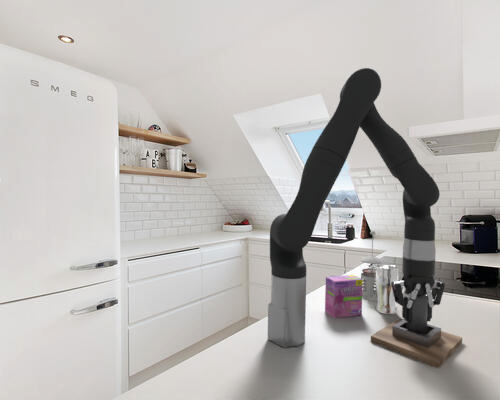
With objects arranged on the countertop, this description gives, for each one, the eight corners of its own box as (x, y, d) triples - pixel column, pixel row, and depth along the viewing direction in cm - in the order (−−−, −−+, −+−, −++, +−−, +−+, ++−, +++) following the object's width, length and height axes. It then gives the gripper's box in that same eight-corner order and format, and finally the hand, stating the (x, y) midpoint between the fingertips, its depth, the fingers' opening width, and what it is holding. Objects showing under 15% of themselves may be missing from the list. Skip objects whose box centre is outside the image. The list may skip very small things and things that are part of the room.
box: (333, 318, 95) (334, 281, 95) (324, 311, 100) (325, 276, 100) (362, 315, 98) (363, 279, 97) (352, 309, 103) (352, 274, 103)
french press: (380, 292, 121) (381, 229, 120) (390, 303, 109) (392, 233, 109) (354, 291, 122) (356, 229, 121) (362, 301, 110) (364, 233, 110)
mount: (438, 368, 68) (439, 350, 68) (370, 341, 80) (371, 326, 80) (462, 343, 80) (462, 328, 80) (399, 323, 92) (400, 309, 92)
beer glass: (378, 305, 106) (379, 263, 106) (399, 310, 102) (401, 266, 102) (371, 311, 101) (373, 266, 101) (394, 317, 97) (395, 270, 96)
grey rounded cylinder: (422, 335, 77) (423, 299, 77) (403, 328, 81) (404, 294, 80) (429, 329, 80) (430, 295, 80) (410, 323, 84) (411, 291, 84)
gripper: (401, 259, 75) (399, 327, 76) (454, 259, 77) (452, 325, 77) (385, 253, 83) (383, 315, 83) (433, 253, 84) (432, 314, 85)
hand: (416, 320), depth 80 cm, fingers closed on grey rounded cylinder, 4 cm apart
